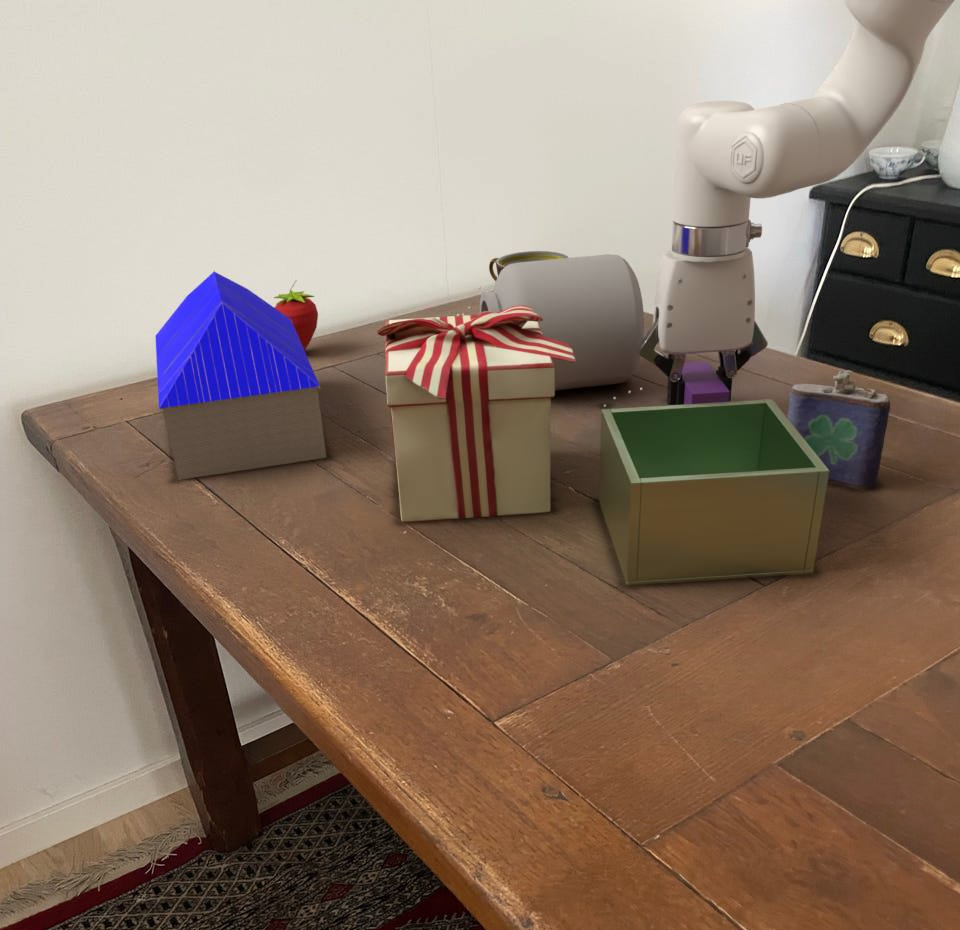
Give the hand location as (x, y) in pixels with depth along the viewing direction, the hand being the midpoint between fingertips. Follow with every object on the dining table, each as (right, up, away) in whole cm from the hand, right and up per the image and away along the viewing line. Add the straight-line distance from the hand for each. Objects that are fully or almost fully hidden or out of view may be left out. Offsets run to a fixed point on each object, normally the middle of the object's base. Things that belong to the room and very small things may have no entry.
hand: (697, 409), depth 114 cm
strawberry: (-49, +13, +25) cm, 56 cm away
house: (-52, -2, +4) cm, 52 cm away
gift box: (-24, -11, -13) cm, 30 cm away
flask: (+10, -10, -14) cm, 20 cm away
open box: (-5, -17, -23) cm, 28 cm away
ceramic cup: (-18, +17, +29) cm, 38 cm away
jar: (-18, +4, +9) cm, 20 cm away
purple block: (0, 0, 0) cm, 0 cm away
